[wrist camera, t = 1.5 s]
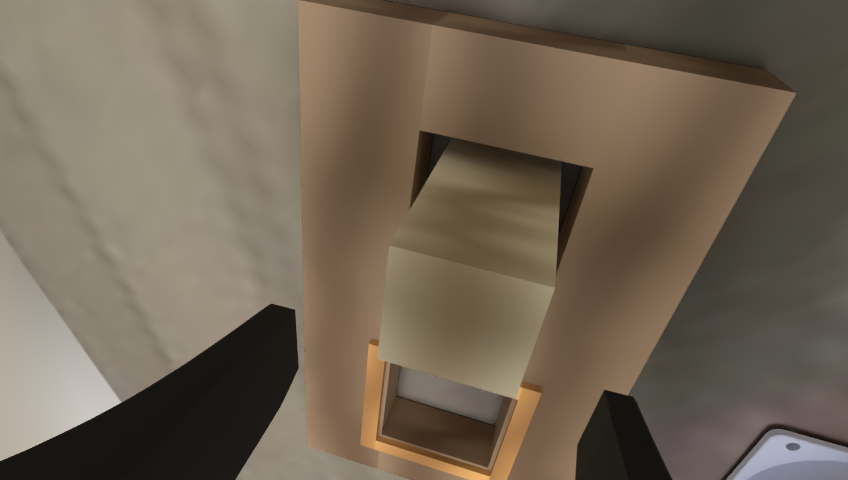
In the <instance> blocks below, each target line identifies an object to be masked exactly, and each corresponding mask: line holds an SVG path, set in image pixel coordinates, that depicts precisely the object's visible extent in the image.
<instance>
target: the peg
mask: <svg viewBox="0 0 848 480" xmlns="http://www.w3.org/2000/svg"><path fill="white" fill-rule="evenodd" d="M561 169H562V161H558V160H554V159H549V158H544V157H540V156H535V155H531V154H526V153H522V152H517V151H512V150H508V149H503V148H499V147H494V146H490V145H485V144H480V143H476V142H471V141H467V140H462V139H458V138H453V137H452V138H451V140H450V141H449V143H448V145H447V147H446V148H445V150H444V152H443V154H442V155H441V157H440V159H439V160H438V162H437V164H436V166H435V167H434V169H433V171H432V172H431V174H430V176H429V178H428V179H427V181H426V183H425V185H424V186H423V188H422V190H421V191H420V193H419V195H418V197H417V198H416V200H415V202H414V203H413V205H412V207H411V209H410V210H409V212H408V214H407V215H406V217H405V219H404V221H403V222H402V224H401V226H400V228H399V229H398V231H397V233H396V234H395V236H394V238H393V240H392V241H391V243H390V245H389V251H388V261H387V270H386V280H385V290H384V300H383V309H382V319H381V329H380V339H379V348H378V358H377V359H379V360H382V361H386V362H389V363H393V364H396V365H400V366H403V367H406V368H410V369H413V370H417V371H420V372H424V373H427V374H431V375H434V376H437V377H441V378H444V379H448V380H451V381H455V382H458V383H461V384H465V385H468V386H472V387H475V388H479V389H482V390H486V391H489V392H492V393H496V394H499V395H503V396H506V397H510V398H513V399H516V396H517V393H518V390H519V388H520V385H521V382H522V379H523V376H524V374H525V371H526V368H527V365H528V363H529V360H530V357H531V354H532V351H533V349H534V346H535V343H536V340H537V338H538V335H539V332H540V329H541V326H542V324H543V321H544V318H545V315H546V312H547V310H548V307H549V304H550V301H551V299H552V296H553V293H554V290H555V284H556V265H557V246H558V227H559V208H560V188H561Z"/></svg>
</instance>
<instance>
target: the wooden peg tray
mask: <svg viewBox="0 0 848 480" xmlns="http://www.w3.org/2000/svg"><path fill="white" fill-rule="evenodd" d="M298 40H299V89H300V138H301V187H302V236H303V285H304V335H305V384H306V433H307V446H309V447H312V448H315V449H318V450H321V451H324V452H327V453H330V454H333V455H336V456H339V457H342V458H345V459H349V460H352V461H355V462H358V463H361V464H364V465H367V466H370V467H373V468H376V469H379V470H382V471H385V472H389V473H392V474H395V475H398V476H401V477H404V478H407V479H410V480H575V473H576V457H577V444H578V442H579V440H580V438H581V436H582V434H583V432H584V430H585V428H586V426H587V424H588V422H589V420H590V418H591V416H592V414H593V411H594V409H595V407H596V405H597V403H598V401H599V399H600V397H601V395H602V393H603V391H604V390H608V391H612V392H616V393H620V394H624V395H628V394H629V392H630V390H631V388H632V387H633V385H634V383H635V381H636V380H637V378H638V376H639V374H640V372H641V371H642V369H643V367H644V365H645V363H646V362H647V360H648V358H649V356H650V354H651V353H652V351H653V349H654V347H655V346H656V344H657V342H658V340H659V338H660V337H661V335H662V333H663V331H664V329H665V328H666V326H667V324H668V322H669V320H670V319H671V317H672V315H673V313H674V312H675V310H676V308H677V306H678V304H679V303H680V301H681V299H682V297H683V295H684V294H685V292H686V290H687V288H688V286H689V285H690V283H691V281H692V279H693V278H694V276H695V274H696V272H697V270H698V269H699V267H700V265H701V263H702V261H703V260H704V258H705V256H706V254H707V252H708V251H709V249H710V247H711V245H712V244H713V242H714V240H715V238H716V236H717V235H718V233H719V231H720V229H721V227H722V226H723V224H724V222H725V220H726V218H727V217H728V215H729V213H730V211H731V210H732V208H733V206H734V204H735V202H736V201H737V199H738V197H739V195H740V193H741V192H742V190H743V188H744V186H745V184H746V183H747V181H748V179H749V177H750V176H751V174H752V172H753V170H754V168H755V167H756V165H757V163H758V161H759V159H760V158H761V156H762V154H763V152H764V150H765V149H766V147H767V145H768V143H769V142H770V140H771V138H772V136H773V134H774V133H775V131H776V129H777V127H778V125H779V124H780V122H781V120H782V118H783V116H784V115H785V113H786V111H787V109H788V108H789V106H790V104H791V102H792V100H793V99H794V97H795V95H796V92H795V91H793V90H792V89H791V88H789V87H788V86H787V85H785V84H784V83H783V82H781V81H780V80H779V79H777V78H776V77H775V76H773V75H772V74H771V73H769V72H768V71H767V70H764V69H758V68H753V67H747V66H742V65H736V64H731V63H725V62H720V61H714V60H709V59H703V58H698V57H692V56H687V55H681V54H676V53H670V52H665V51H659V50H654V49H648V48H643V47H637V46H632V45H626V44H621V43H615V42H610V41H604V40H599V39H593V38H588V37H582V36H577V35H571V34H566V33H560V32H555V31H549V30H544V29H538V28H533V27H527V26H522V25H516V24H511V23H505V22H500V21H494V20H489V19H483V18H478V17H472V16H467V15H461V14H456V13H450V12H445V11H439V10H434V9H428V8H423V7H417V6H412V5H406V4H401V3H395V2H390V1H384V0H298ZM433 133H435V134H439V135H444V136H448V137H453V138H458V139H462V140H467V141H471V142H476V143H480V144H485V145H490V146H494V147H499V148H503V149H508V150H512V151H517V152H522V153H526V154H531V155H535V156H540V157H544V158H549V159H554V160H558V161H563V162H567V163H572V164H576V165H581V166H582V169H581V172H580V175H579V178H578V181H577V184H576V187H575V190H574V193H573V196H572V199H571V202H570V205H569V208H568V211H567V214H566V217H565V219H564V222H563V225H562V228H561V231H560V234H559V237H558V246H557V265H556V284H555V290H554V293H553V296H552V299H551V301H550V304H549V307H548V310H547V312H546V315H545V318H544V321H543V324H542V326H541V329H540V332H539V335H538V338H537V340H536V343H535V346H534V349H533V351H532V354H531V357H530V360H529V363H528V365H527V368H526V371H525V374H524V376H523V379H522V382H521V385H520V388H519V390H518V393H517V396H516V399H513V398H510V397H506V396H505V397H504V400H503V403H502V406H501V409H500V412H499V415H498V418H497V421H496V423H495V426H493V425H489V424H486V423H483V422H479V421H476V420H473V419H469V418H466V417H463V416H459V415H456V414H453V413H450V412H446V411H443V410H440V409H436V408H433V407H430V406H426V405H423V404H420V403H416V402H413V401H410V400H406V399H403V398H400V397H396V393H397V386H398V379H399V372H400V365H396V364H393V363H389V362H386V361H382V360H379V359H377V358H378V348H379V339H380V329H381V319H382V309H383V300H384V290H385V280H386V270H387V261H388V251H389V245H390V243H391V241H392V240H393V238H394V236H395V234H396V233H397V231H398V229H399V228H400V226H401V224H402V222H403V221H404V219H405V217H406V215H407V214H408V212H409V210H410V209H411V207H412V205H413V203H414V202H415V200H416V198H417V197H418V195H419V193H420V191H421V190H422V188H423V186H424V185H425V183H426V181H427V175H428V168H429V161H430V154H431V147H432V140H433Z"/></svg>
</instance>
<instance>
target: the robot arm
mask: <svg viewBox="0 0 848 480" xmlns="http://www.w3.org/2000/svg"><path fill="white" fill-rule="evenodd" d="M298 368H299V367H298V351H297V335H296V318H295V310H294V309H290V308H286V307H282V306H278V305H274V304H270V305H268V306H267V307H265V308H264V309H263V310H261V311H260V312H258V313H257V314H256V315H254V316H253V317H251V318H250V319H249V320H247V321H246V322H245V323H243V324H242V325H240V326H239V327H238V328H236V329H235V330H233V331H232V332H231V333H229V334H228V335H226V336H225V337H224V338H222V339H221V340H219V341H218V342H217V343H215V344H214V345H212V346H211V347H209V348H208V349H206V350H205V351H203V352H202V353H200V354H199V355H198V356H196V357H195V358H193V359H192V360H190V361H189V362H187V363H186V364H184V365H183V366H181V367H180V368H178V369H176V370H175V371H173V372H172V373H170V374H168V375H167V376H165V377H164V378H162V379H160V380H159V381H157V382H156V383H154V384H152V385H151V386H149V387H148V388H146V389H144V390H143V391H141V392H139V393H138V394H136V395H134V396H132V397H131V398H129V399H127V400H125V401H124V402H122V403H120V404H118V405H116V406H115V407H113V408H111V409H109V410H107V411H105V412H104V413H102V414H100V415H98V416H96V417H94V418H92V419H91V420H88V421H86V422H84V423H82V424H80V425H78V426H76V427H74V428H72V429H70V430H68V431H66V432H64V433H62V434H60V435H58V436H56V437H53V438H51V439H49V440H47V441H45V442H43V443H41V444H39V445H36V446H34V447H32V448H30V449H28V450H26V451H23V452H21V453H19V454H16V455H14V456H12V457H9V458H7V459H4V460H2V461H0V480H235V479H236V477H237V476H238V474H239V473H240V471H241V469H242V468H243V466H244V465H245V463H246V461H247V460H248V458H249V457H250V455H251V453H252V452H253V450H254V449H255V447H256V445H257V444H258V442H259V441H260V439H261V437H262V436H263V434H264V433H265V431H266V429H267V428H268V426H269V424H270V423H271V421H272V420H273V418H274V416H275V415H276V413H277V411H278V410H279V408H280V406H281V404H282V402H283V400H284V398H285V396H286V394H287V392H288V390H289V388H290V386H291V383H292V381H293V379H294V377H295V375H296V372H297V370H298ZM575 480H672V478H671V476H670V474H669V472H668V470H667V468H666V466H665V463H664V461H663V459H662V457H661V455H660V453H659V451H658V449H657V447H656V444H655V442H654V440H653V438H652V436H651V434H650V431H649V429H648V427H647V425H646V422H645V420H644V418H643V416H642V413H641V411H640V409H639V407H638V404H637V402H636V400H635V399H634V397H631V396H628V395H624V394H620V393H616V392H612V391H608V390H604V391H603V393H602V395H601V397H600V399H599V401H598V403H597V405H596V407H595V409H594V411H593V414H592V416H591V418H590V420H589V422H588V424H587V426H586V428H585V430H584V432H583V434H582V436H581V438H580V440H579V442H578V444H577V457H576V473H575ZM726 480H848V447H844V446H841V445H837V444H833V443H830V442H826V441H823V440H819V439H815V438H812V437H808V436H805V435H801V434H797V433H794V432H790V431H787V430H783V429H773V430H770V431H768V432H767V433H766V434H765V435H764V436H763V437H762V439H761V440H760V441H759V442H758V443H757V444H756V445H755V447H754V448H753V449H752V450H751V451H750V452H749V454H748V455H747V456H746V457H745V458H744V459H743V460H742V462H741V463H740V464H739V465H738V466H737V467H736V469H735V470H734V471H733V472H732V473H731V474H730V475H729V477H728V478H727V479H726Z"/></svg>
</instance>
